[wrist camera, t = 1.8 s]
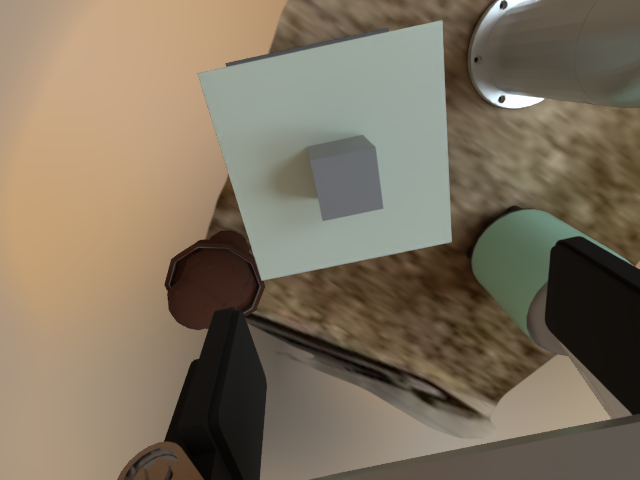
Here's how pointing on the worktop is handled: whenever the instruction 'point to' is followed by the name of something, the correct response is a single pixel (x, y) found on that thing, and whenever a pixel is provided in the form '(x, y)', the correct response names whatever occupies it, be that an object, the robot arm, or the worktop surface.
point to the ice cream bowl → (213, 280)
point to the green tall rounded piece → (530, 279)
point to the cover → (337, 149)
